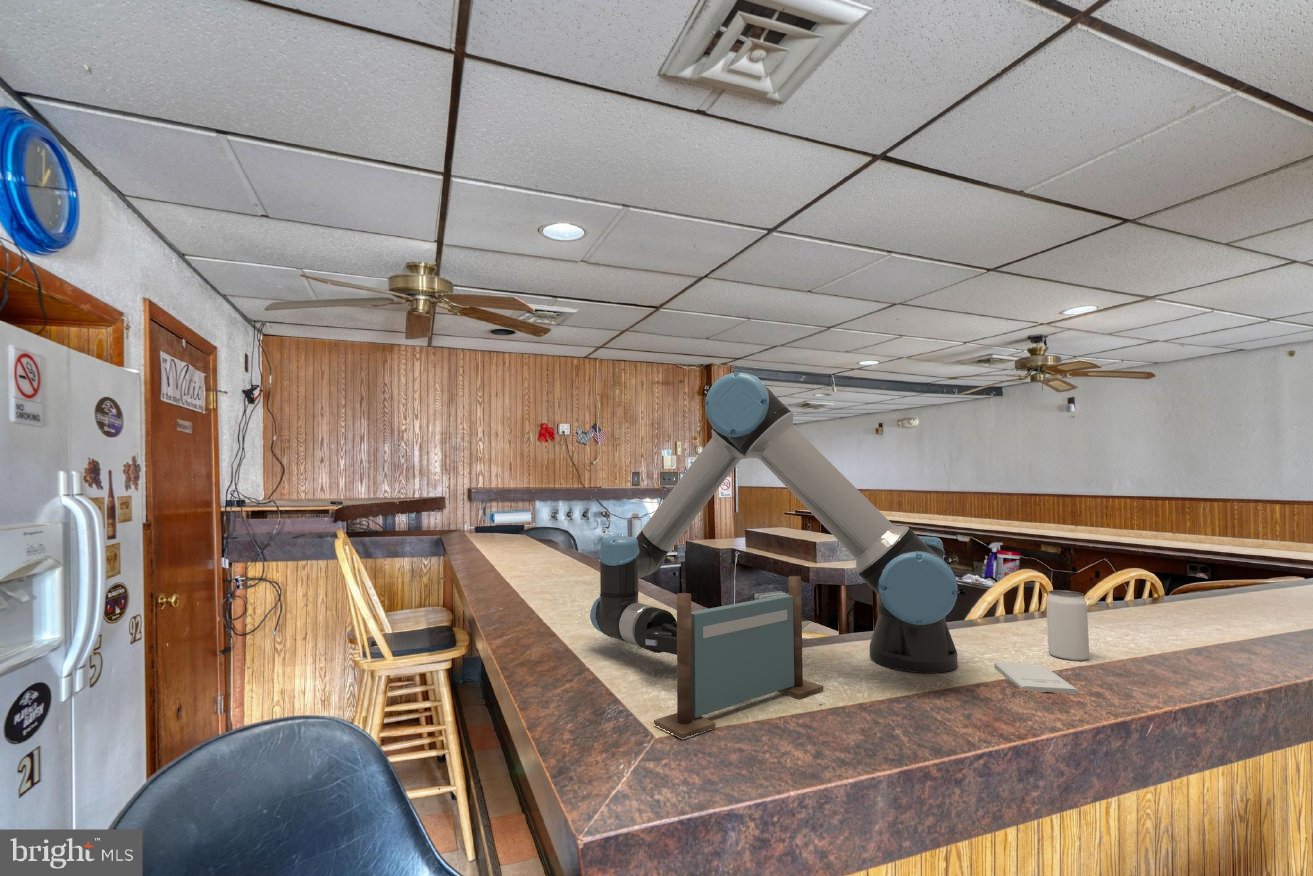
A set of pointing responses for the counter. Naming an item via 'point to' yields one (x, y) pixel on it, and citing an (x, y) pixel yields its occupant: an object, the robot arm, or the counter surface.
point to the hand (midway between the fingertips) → (742, 657)
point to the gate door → (741, 652)
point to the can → (1067, 625)
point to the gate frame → (683, 719)
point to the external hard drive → (1034, 678)
